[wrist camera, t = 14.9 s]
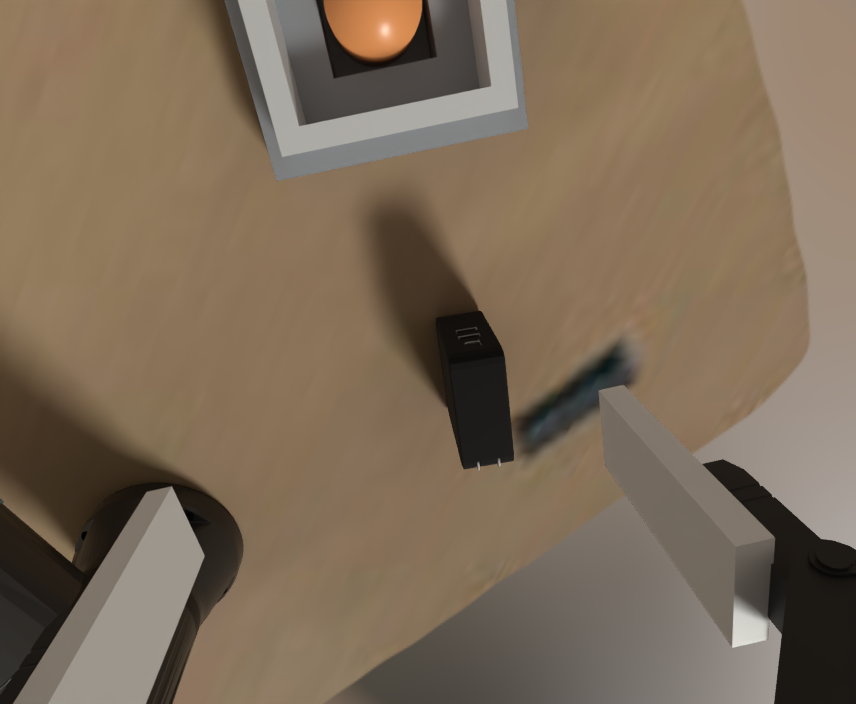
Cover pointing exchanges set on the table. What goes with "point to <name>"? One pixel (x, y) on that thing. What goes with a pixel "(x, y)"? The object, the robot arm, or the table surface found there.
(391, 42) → the button
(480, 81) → the grey open box
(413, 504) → the table surface
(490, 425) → the electronic device
